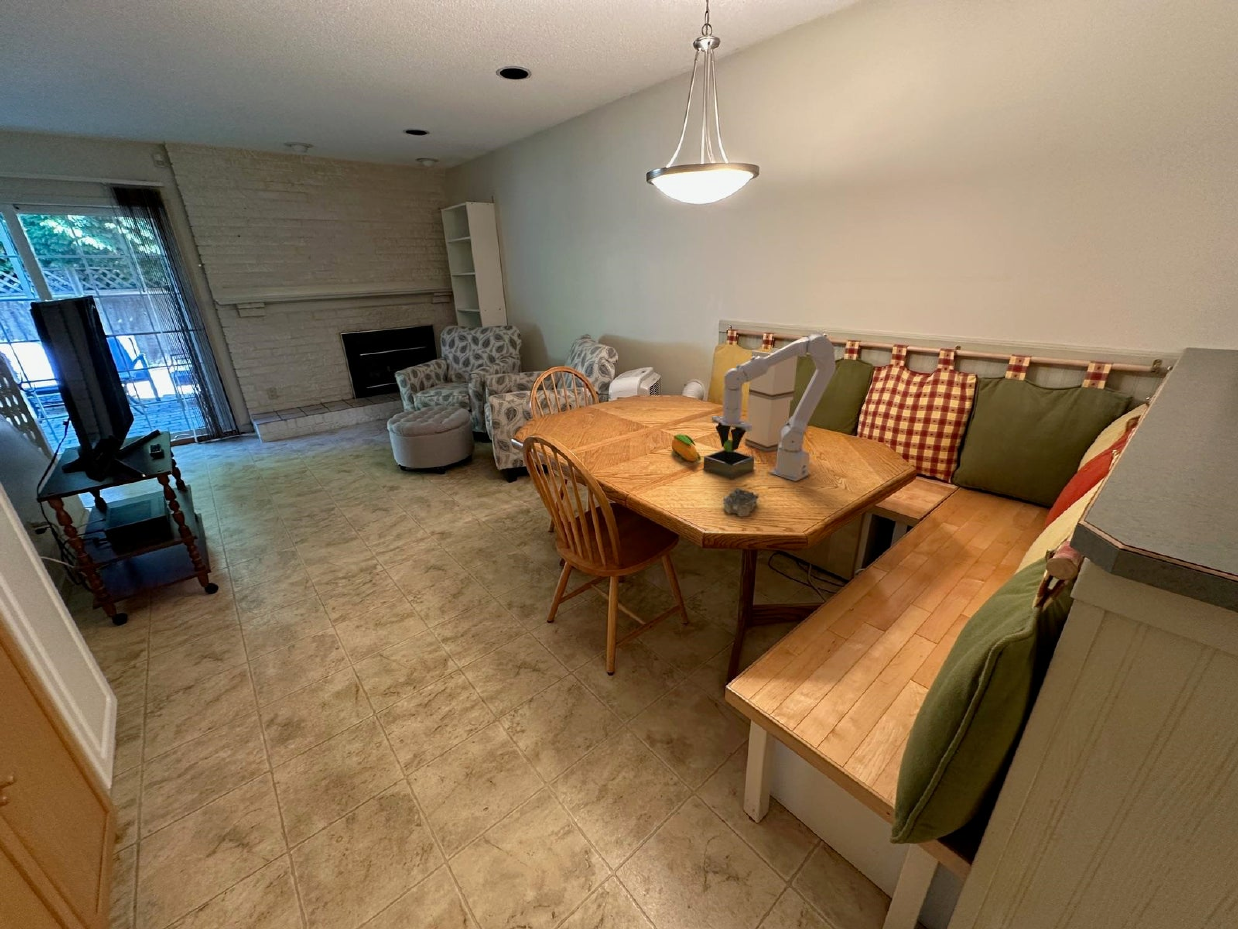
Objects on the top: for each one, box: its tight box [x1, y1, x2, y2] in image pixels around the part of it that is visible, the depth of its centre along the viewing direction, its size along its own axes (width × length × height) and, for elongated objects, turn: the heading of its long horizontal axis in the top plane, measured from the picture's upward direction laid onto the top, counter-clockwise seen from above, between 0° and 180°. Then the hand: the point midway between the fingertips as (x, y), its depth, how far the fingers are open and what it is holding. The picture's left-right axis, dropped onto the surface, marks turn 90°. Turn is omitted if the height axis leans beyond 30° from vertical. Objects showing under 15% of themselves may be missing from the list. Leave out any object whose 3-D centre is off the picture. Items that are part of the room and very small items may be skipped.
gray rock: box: [722, 486, 760, 517], centre depth 132 cm, size 11×8×4 cm
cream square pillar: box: [744, 347, 799, 453], centre depth 175 cm, size 11×11×35 cm
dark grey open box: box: [703, 448, 755, 480], centre depth 158 cm, size 12×12×5 cm
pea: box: [723, 439, 735, 452], centre depth 156 cm, size 4×4×4 cm
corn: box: [671, 433, 702, 462], centre depth 169 cm, size 7×8×20 cm
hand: (729, 447), depth 156 cm, fingers closed on pea, 4 cm apart
